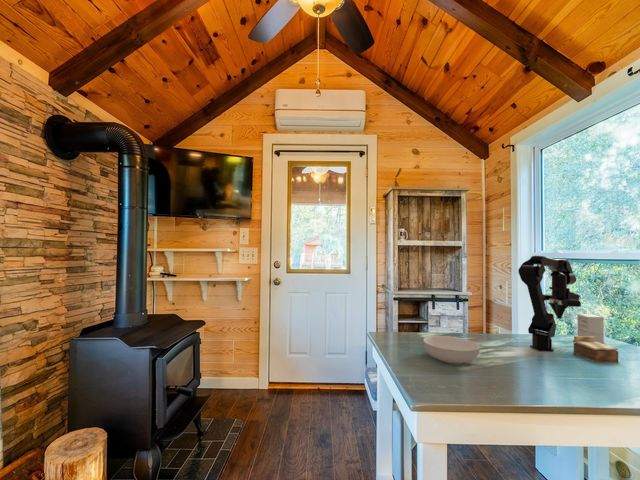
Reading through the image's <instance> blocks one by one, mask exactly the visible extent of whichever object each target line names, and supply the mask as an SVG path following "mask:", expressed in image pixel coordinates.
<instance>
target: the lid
mask: <svg viewBox="0 0 640 480" xmlns="http://www.w3.org/2000/svg"><path fill="white" fill-rule="evenodd" d="M572 343H573V344H574V343H577V344H580V345H583V346H585V347H588V348H591V349H593V350H616V351H618V348H617V347H614V346H612V345H608V344H605V343H599V342H596V341H595V337H593V336H578V335H574V336H573V340H572Z"/></svg>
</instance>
